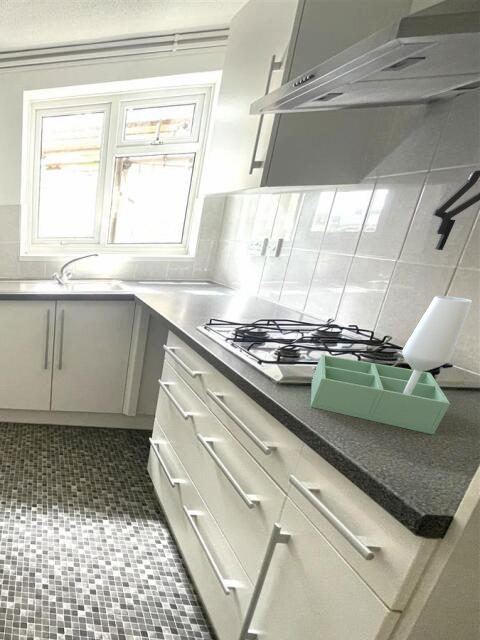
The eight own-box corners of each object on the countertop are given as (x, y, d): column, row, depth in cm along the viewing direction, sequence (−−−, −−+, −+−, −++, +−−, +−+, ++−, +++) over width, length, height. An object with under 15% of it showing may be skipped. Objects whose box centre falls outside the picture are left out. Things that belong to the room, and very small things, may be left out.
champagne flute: (371, 403, 91) (421, 293, 81) (412, 410, 88) (468, 297, 78) (382, 416, 85) (436, 300, 75) (426, 424, 82) (489, 304, 73)
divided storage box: (416, 400, 94) (430, 372, 92) (433, 434, 81) (450, 403, 78) (311, 379, 105) (321, 354, 102) (310, 406, 91) (321, 378, 88)
